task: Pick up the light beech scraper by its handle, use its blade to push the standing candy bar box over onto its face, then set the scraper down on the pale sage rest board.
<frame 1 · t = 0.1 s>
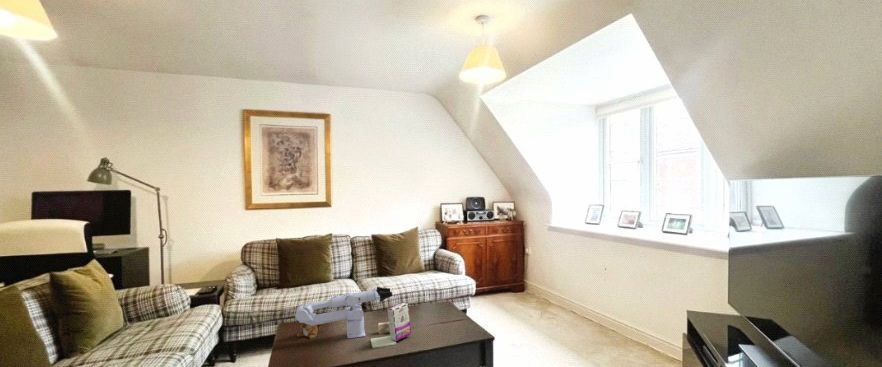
hand: (391, 291, 214), 22 cm above the table, tool horizontal, fingers open, 7 cm apart
stuffed squirrel: (312, 334, 211), on the table
rest board: (383, 342, 198), on the table
scraper: (385, 332, 212), on the table
candy bar box: (400, 337, 202), point 1 cm above the table, touching rest board
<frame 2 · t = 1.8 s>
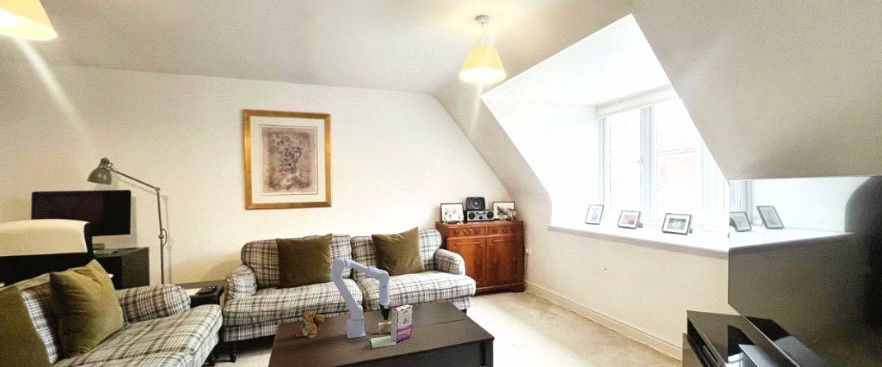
hand: (384, 317, 212), 8 cm above the table, tool pointing down, fingers open, 7 cm apart
candy bar box: (400, 338, 202), on the table, touching rest board
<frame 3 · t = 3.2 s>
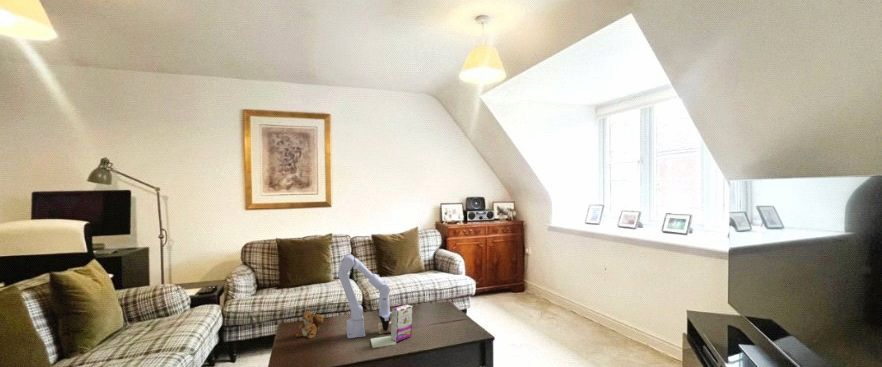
hand: (385, 329, 212), 1 cm above the table, tool pointing down, fingers closed on scraper, 2 cm apart
scraper: (385, 332, 212), on the table, touching gripper
everything else where it was.
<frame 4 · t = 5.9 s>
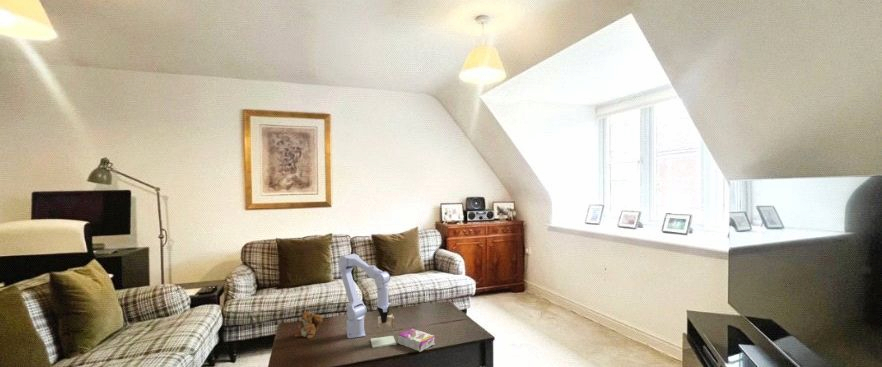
hand: (383, 321, 199), 10 cm above the table, tool pointing down, fingers closed on scraper, 2 cm apart
scraper: (384, 326, 199), point 8 cm above the table, touching gripper
candy bar box: (404, 335, 200), point 3 cm above the table
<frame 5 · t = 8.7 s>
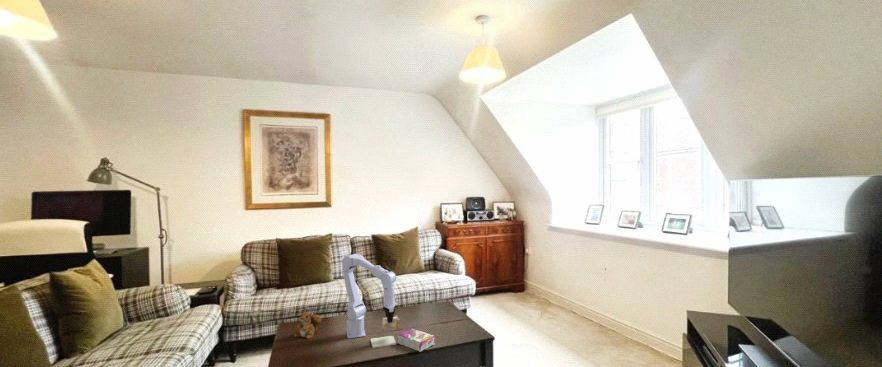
hand: (389, 321, 199), 10 cm above the table, tool pointing down, fingers closed on scraper, 2 cm apart
scraper: (389, 327, 199), point 7 cm above the table, tilted 5°, touching gripper
when the fingers open (4 cm above the table, at t = 10.5 s): scraper stays where it is, resting on rest board.
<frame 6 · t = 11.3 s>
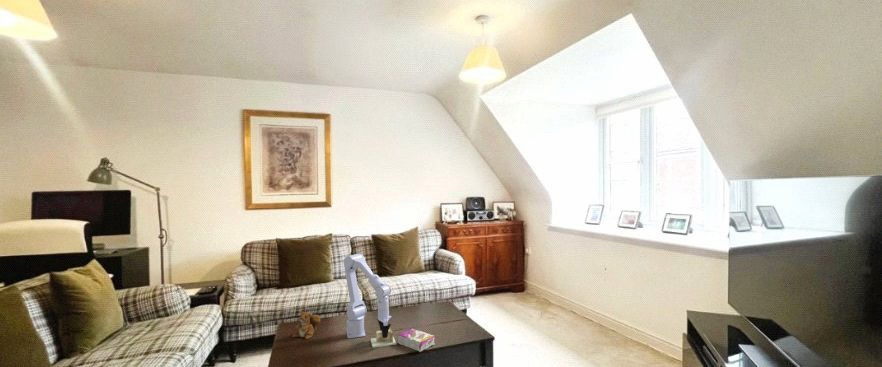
hand: (383, 334, 198), 4 cm above the table, tool pointing down, fingers open, 7 cm apart
scraper: (383, 340, 198), point 1 cm above the table, touching rest board
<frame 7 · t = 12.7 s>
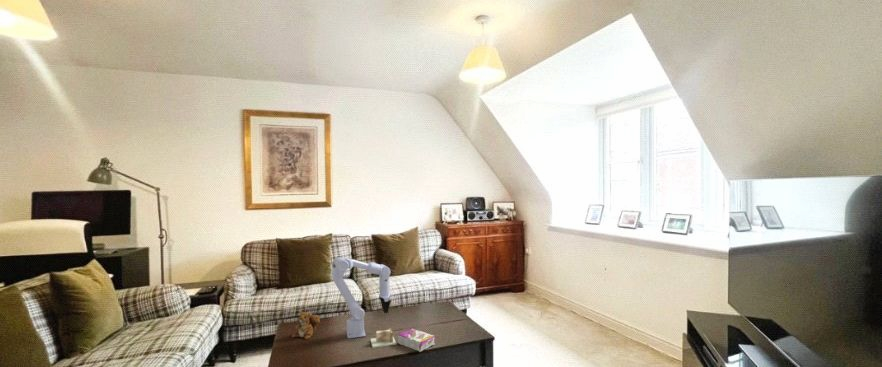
hand: (385, 310, 216), 10 cm above the table, tool pointing down, fingers open, 7 cm apart
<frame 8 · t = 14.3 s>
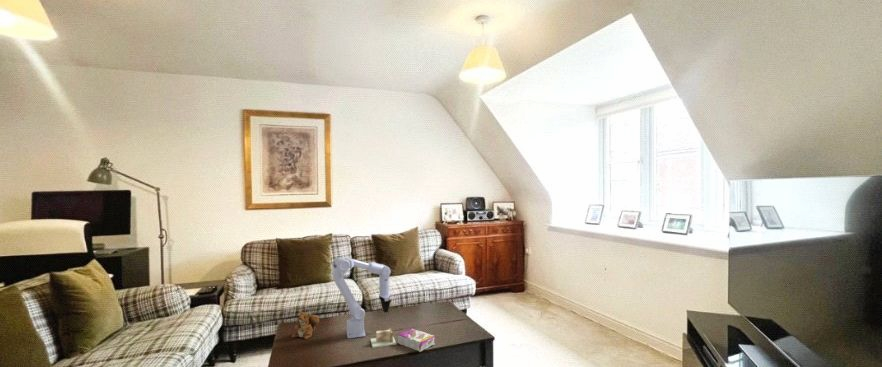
hand: (385, 310, 217), 10 cm above the table, tool pointing down, fingers open, 7 cm apart
at the end: candy bar box tilted 91°; scraper touching rest board; the gripper is holding nothing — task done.
